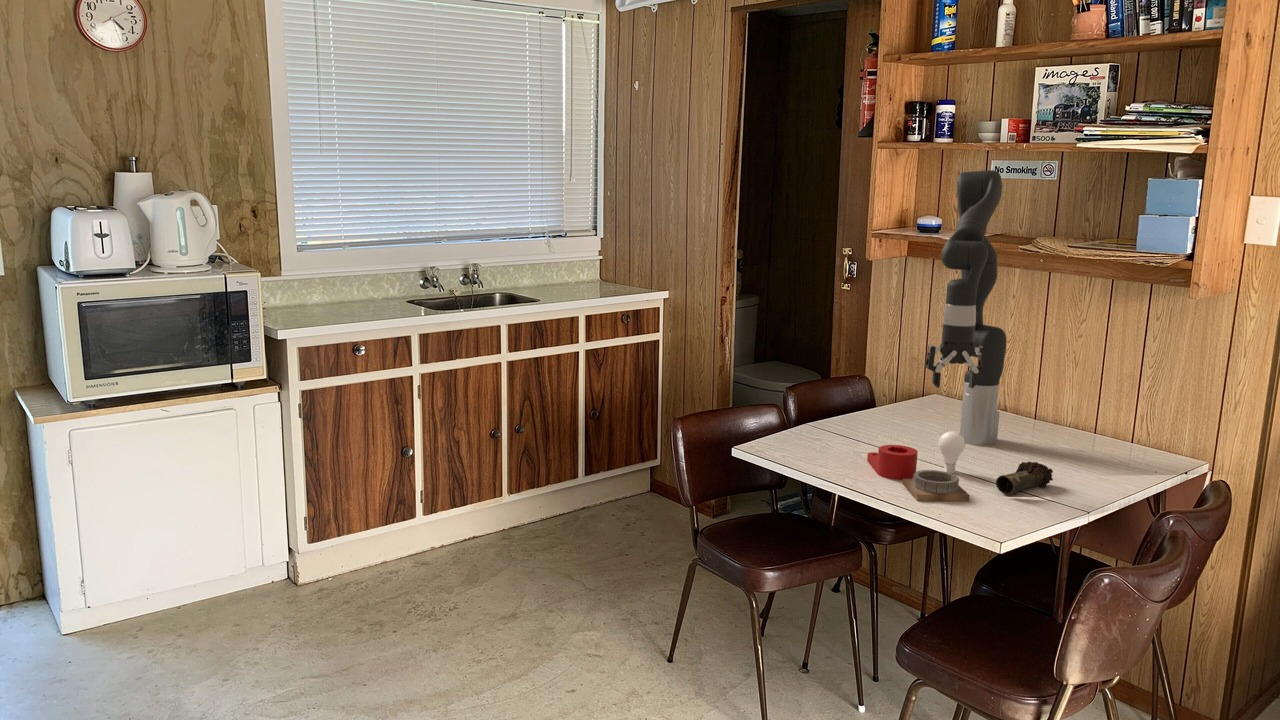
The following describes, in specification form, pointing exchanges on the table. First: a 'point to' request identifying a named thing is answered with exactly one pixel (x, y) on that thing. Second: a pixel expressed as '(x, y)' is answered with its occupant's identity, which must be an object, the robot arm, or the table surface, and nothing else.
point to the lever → (894, 461)
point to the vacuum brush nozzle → (1024, 478)
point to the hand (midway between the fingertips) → (953, 387)
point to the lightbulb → (951, 449)
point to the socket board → (933, 495)
